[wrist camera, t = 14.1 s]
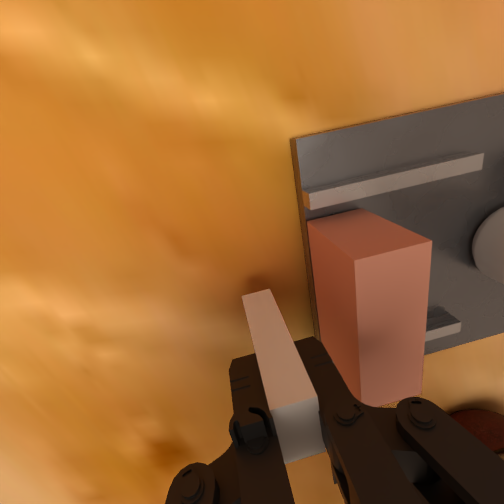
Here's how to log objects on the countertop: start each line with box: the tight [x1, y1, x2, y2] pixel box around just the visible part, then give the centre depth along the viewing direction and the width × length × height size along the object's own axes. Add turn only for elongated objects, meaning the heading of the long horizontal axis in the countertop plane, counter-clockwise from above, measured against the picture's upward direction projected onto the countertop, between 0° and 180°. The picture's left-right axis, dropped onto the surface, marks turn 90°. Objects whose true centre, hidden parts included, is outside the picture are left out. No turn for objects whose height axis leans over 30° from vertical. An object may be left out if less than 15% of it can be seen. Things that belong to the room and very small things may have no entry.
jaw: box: [307, 208, 432, 407], centre depth 14 cm, size 3×8×5 cm, turn 11°
